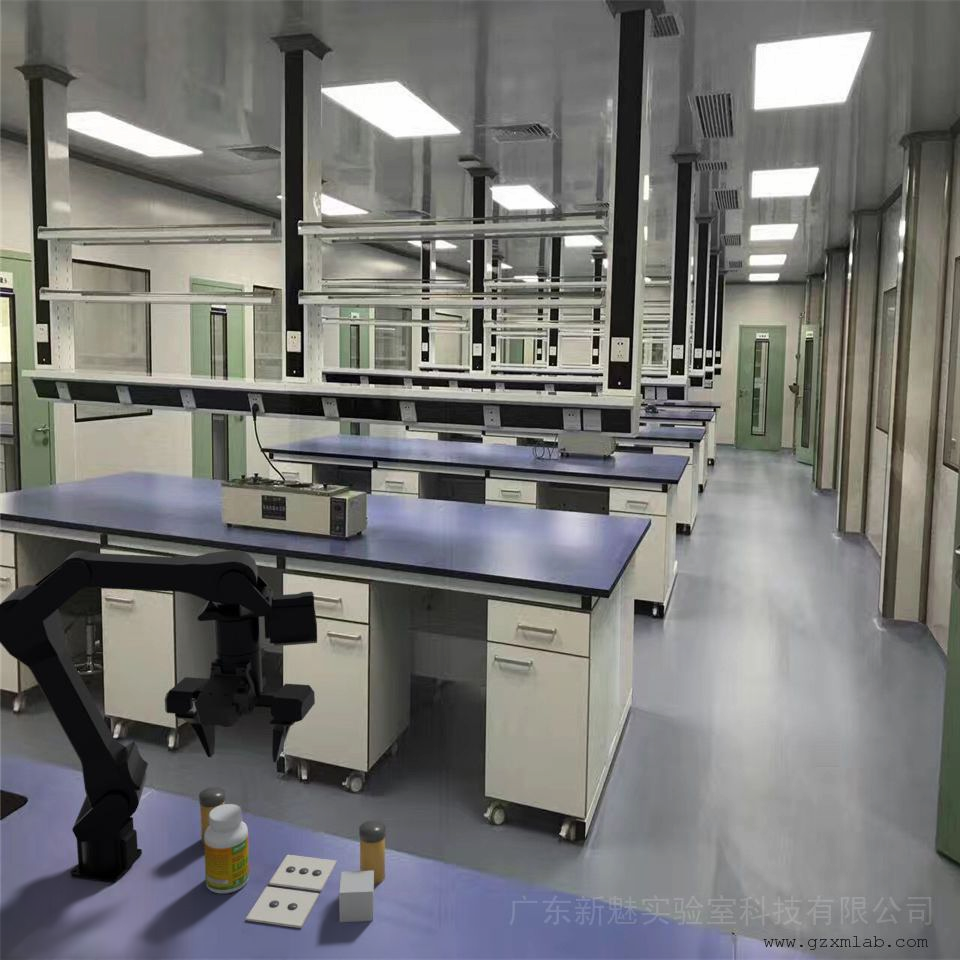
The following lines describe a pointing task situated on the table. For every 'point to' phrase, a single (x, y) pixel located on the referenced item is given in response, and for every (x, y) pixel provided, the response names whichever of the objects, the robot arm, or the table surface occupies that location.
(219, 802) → the amber vial
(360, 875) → the grey block
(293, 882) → the pad three
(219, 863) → the supplement bottle
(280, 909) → the pad two
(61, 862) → the table surface
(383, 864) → the amber vial
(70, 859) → the table surface
